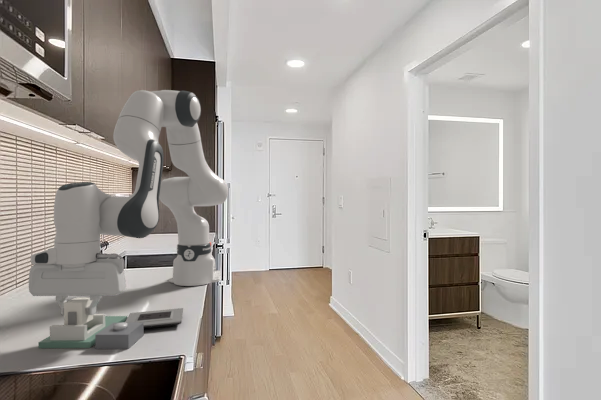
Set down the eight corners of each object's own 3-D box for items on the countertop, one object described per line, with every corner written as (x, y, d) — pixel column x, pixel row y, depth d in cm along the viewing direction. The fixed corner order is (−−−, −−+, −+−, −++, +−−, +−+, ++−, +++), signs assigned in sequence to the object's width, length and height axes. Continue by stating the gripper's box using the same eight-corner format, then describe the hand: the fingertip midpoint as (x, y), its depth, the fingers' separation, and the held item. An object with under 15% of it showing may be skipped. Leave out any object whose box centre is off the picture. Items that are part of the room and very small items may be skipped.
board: (85, 320, 91) (84, 304, 91) (127, 320, 91) (127, 304, 91) (38, 348, 75) (38, 328, 75) (89, 347, 75) (89, 328, 75)
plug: (75, 319, 82) (75, 297, 82) (92, 318, 82) (92, 297, 82) (62, 326, 77) (62, 303, 77) (80, 326, 77) (80, 303, 77)
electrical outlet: (122, 336, 82) (122, 326, 82) (130, 320, 92) (130, 311, 92) (181, 329, 85) (181, 320, 85) (183, 315, 96) (183, 306, 96)
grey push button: (113, 335, 81) (113, 319, 81) (143, 335, 81) (143, 319, 81) (95, 348, 74) (95, 331, 74) (128, 348, 74) (128, 330, 74)
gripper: (130, 251, 83) (131, 309, 83) (44, 251, 83) (44, 310, 83) (116, 255, 76) (117, 319, 76) (22, 256, 76) (23, 319, 77)
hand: (79, 314), depth 80 cm, fingers closed on plug, 4 cm apart
